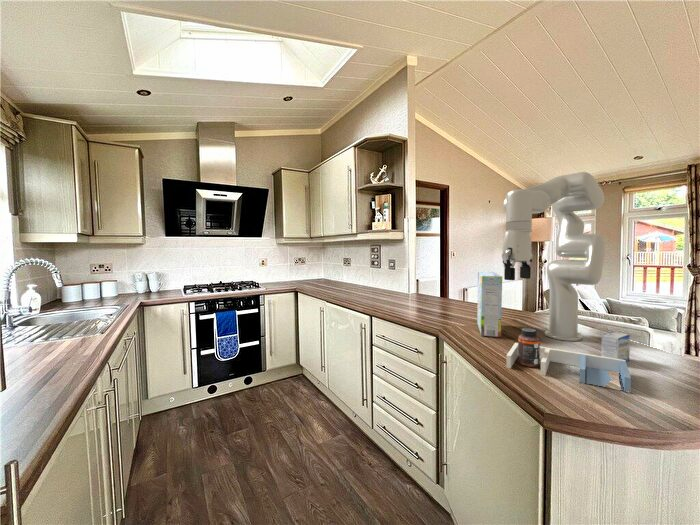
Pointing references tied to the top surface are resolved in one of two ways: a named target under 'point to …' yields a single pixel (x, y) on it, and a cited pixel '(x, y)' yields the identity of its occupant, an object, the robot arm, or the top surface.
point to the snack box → (489, 304)
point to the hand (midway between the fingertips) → (517, 279)
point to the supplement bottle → (529, 348)
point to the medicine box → (616, 345)
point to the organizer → (593, 363)
